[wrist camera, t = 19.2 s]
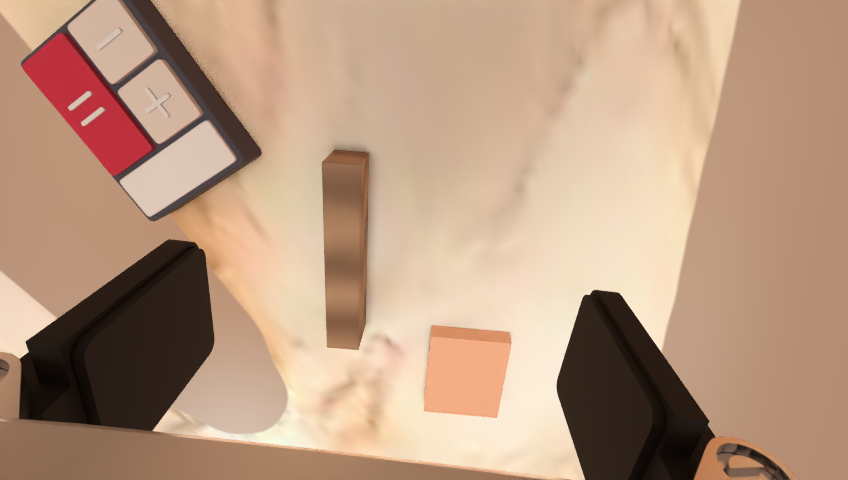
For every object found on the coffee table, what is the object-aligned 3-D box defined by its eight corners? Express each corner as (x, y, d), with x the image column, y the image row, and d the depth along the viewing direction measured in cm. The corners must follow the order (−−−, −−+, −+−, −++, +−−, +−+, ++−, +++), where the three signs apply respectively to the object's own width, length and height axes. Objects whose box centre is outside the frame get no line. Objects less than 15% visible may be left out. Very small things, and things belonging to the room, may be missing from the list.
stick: (335, 149, 38) (321, 162, 34) (369, 152, 38) (360, 165, 34) (337, 319, 46) (327, 347, 41) (366, 322, 46) (358, 350, 41)
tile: (431, 336, 43) (423, 411, 48) (511, 343, 43) (496, 417, 47) (432, 323, 45) (424, 395, 50) (508, 329, 45) (494, 401, 50)
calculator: (106, -24, 30) (242, 163, 34) (147, -14, 34) (264, 153, 38) (7, 63, 33) (145, 226, 37) (56, 63, 37) (175, 211, 41)
